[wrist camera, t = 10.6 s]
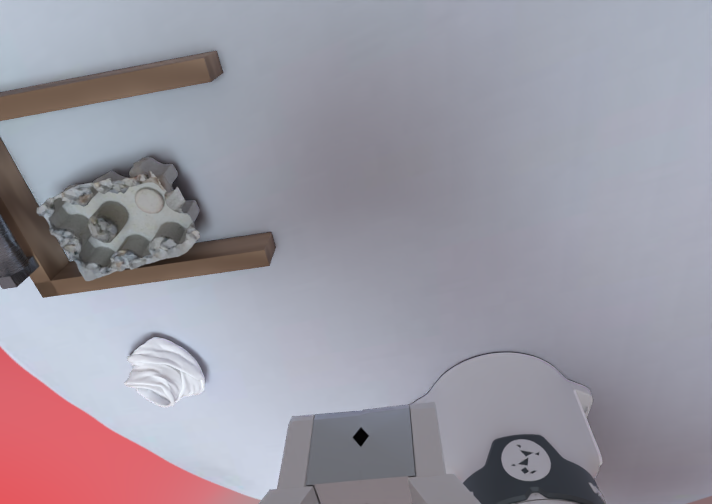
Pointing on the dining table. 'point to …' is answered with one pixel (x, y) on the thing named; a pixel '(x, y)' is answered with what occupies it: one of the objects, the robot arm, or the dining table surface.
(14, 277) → the winch
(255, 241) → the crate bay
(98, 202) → the egg carton
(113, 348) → the dining table surface
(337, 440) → the robot arm
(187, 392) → the white crumpled cloth
